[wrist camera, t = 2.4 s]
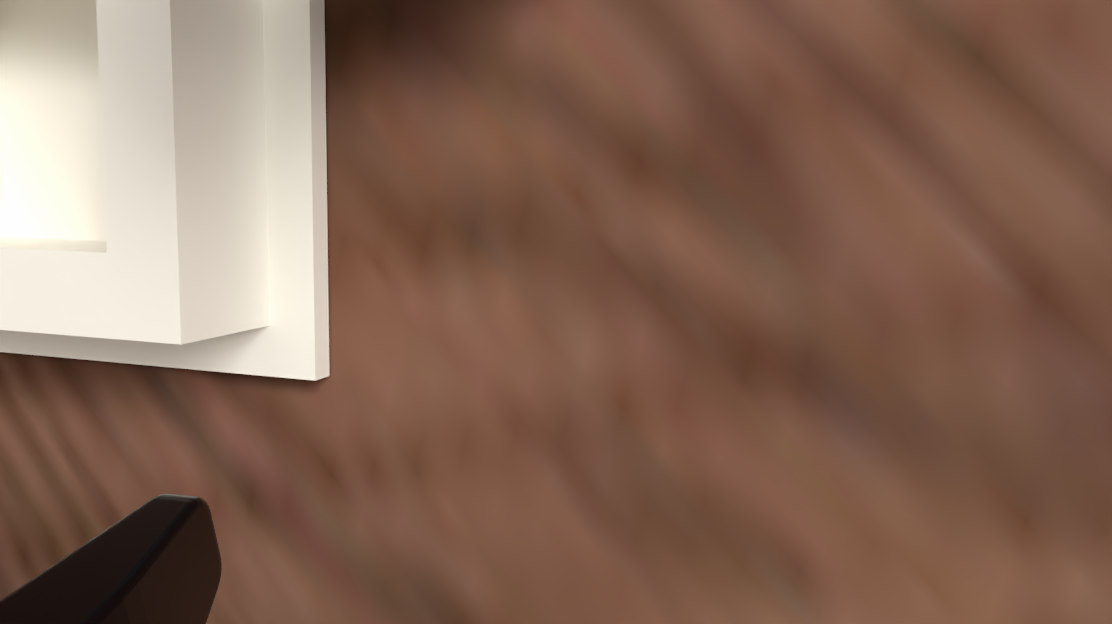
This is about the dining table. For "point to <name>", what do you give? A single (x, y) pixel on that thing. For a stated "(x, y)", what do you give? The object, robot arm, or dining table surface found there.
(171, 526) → the robot arm
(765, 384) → the dining table surface
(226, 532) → the dining table surface
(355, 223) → the dining table surface
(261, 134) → the socket
